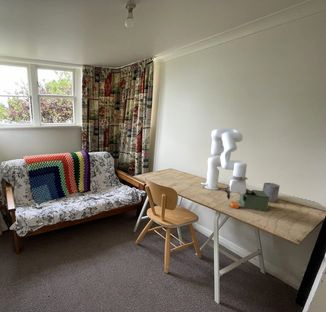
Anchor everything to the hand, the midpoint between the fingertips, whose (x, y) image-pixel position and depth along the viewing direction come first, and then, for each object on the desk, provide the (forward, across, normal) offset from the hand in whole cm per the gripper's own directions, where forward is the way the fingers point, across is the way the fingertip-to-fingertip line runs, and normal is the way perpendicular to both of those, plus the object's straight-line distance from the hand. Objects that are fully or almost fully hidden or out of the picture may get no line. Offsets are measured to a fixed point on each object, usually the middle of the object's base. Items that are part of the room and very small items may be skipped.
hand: (236, 199), depth 147 cm
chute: (+6, -13, -8) cm, 16 cm away
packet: (+6, 0, -1) cm, 6 cm away
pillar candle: (+6, -29, -27) cm, 40 cm away
